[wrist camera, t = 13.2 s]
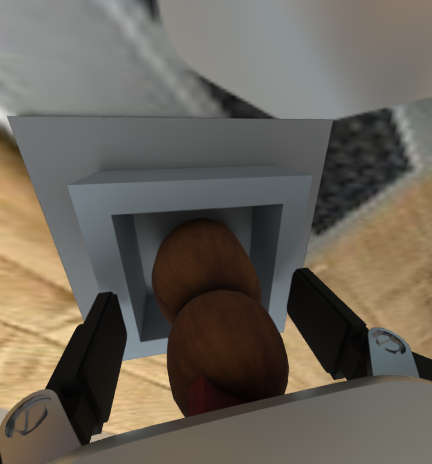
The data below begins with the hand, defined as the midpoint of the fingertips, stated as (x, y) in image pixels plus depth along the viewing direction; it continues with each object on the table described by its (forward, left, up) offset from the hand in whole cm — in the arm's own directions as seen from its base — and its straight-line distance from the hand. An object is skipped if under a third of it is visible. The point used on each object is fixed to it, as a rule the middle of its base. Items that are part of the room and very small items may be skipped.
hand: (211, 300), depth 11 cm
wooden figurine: (0, 0, -6) cm, 7 cm away
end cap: (0, 0, -7) cm, 7 cm away
